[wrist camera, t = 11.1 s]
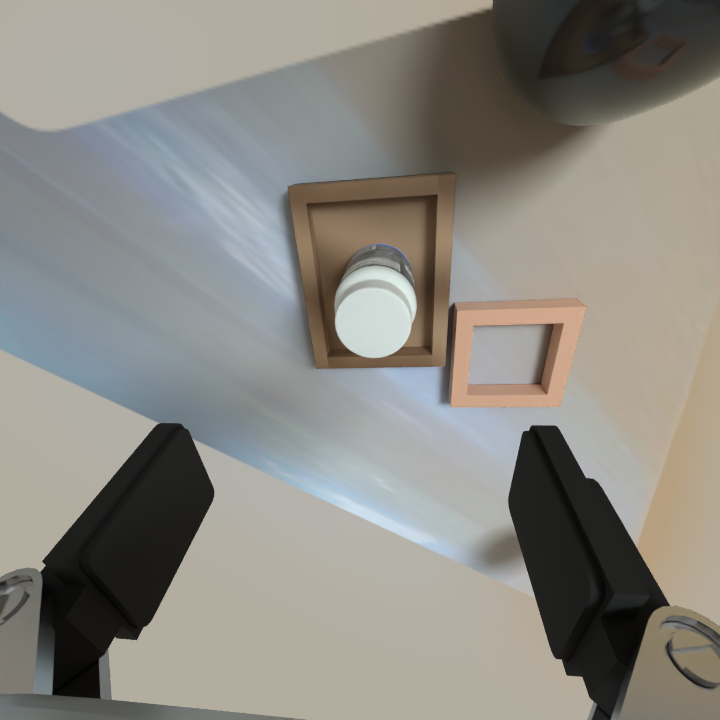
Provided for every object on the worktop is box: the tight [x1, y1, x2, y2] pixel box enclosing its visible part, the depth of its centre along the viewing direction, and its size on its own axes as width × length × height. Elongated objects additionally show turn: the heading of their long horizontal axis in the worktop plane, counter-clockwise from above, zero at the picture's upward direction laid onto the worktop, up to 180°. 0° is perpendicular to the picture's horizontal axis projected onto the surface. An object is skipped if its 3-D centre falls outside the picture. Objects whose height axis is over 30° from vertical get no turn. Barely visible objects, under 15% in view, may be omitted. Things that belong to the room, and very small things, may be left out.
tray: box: [288, 172, 456, 369], centre depth 25 cm, size 13×10×2 cm
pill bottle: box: [334, 243, 417, 358], centre depth 22 cm, size 5×5×8 cm
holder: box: [448, 299, 587, 407], centre depth 28 cm, size 9×9×2 cm
